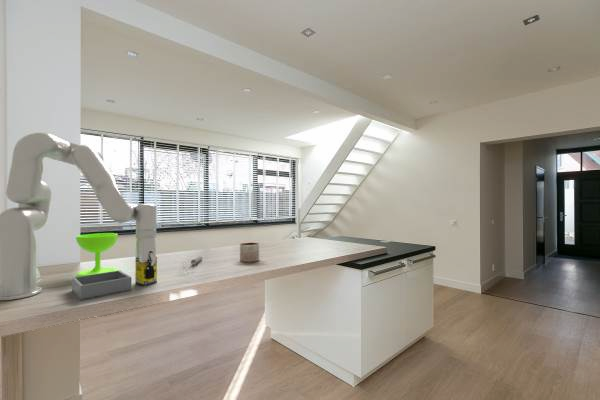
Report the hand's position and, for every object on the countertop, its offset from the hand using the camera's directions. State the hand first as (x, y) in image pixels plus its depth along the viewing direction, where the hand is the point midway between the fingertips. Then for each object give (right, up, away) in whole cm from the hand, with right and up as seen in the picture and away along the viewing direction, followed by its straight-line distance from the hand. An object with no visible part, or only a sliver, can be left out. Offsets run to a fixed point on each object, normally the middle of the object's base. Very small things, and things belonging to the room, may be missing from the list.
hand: (146, 276), depth 119 cm
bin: (-12, -3, -10) cm, 15 cm away
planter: (+35, -3, +44) cm, 56 cm away
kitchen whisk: (+8, -3, +30) cm, 31 cm away
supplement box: (0, -3, 0) cm, 3 cm away
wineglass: (-31, -3, +15) cm, 35 cm away
